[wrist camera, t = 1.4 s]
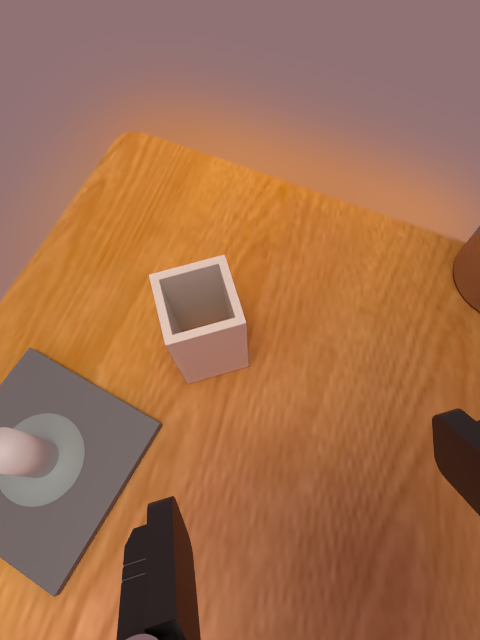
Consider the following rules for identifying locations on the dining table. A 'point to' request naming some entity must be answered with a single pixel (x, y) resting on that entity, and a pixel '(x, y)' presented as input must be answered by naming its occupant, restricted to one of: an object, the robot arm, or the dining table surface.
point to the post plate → (61, 465)
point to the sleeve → (201, 318)
